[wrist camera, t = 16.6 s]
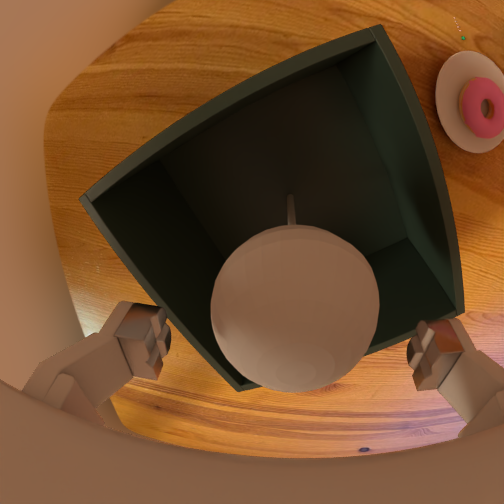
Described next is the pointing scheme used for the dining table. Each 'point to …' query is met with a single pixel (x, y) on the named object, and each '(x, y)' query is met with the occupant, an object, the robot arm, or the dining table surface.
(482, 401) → the robot arm
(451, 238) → the bin
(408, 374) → the dining table surface
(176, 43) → the dining table surface
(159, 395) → the dining table surface
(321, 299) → the lollipop
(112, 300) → the dining table surface
